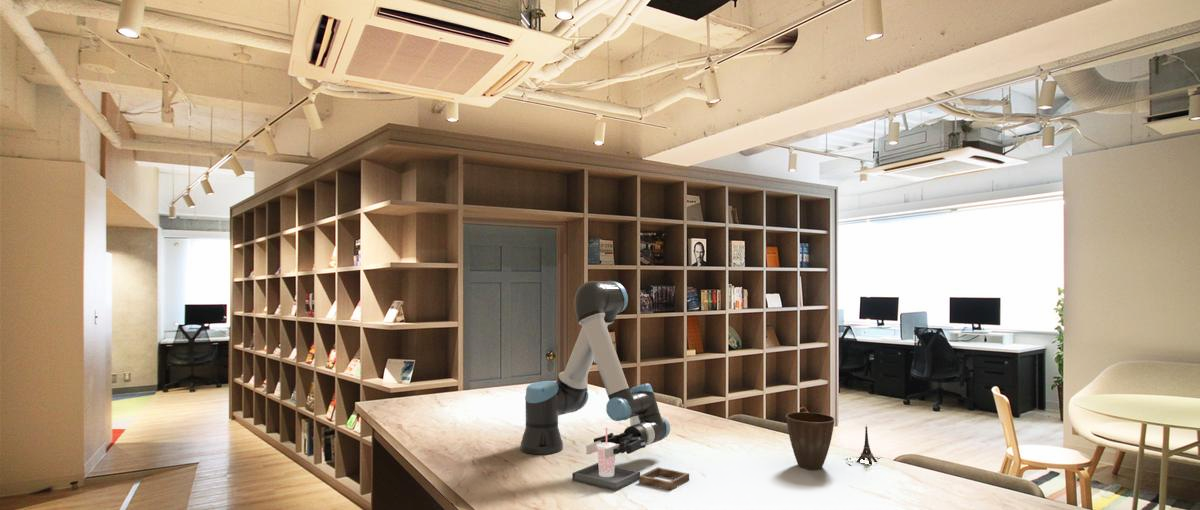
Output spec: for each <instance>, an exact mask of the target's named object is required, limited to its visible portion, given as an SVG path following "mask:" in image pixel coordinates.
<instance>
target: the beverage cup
mask: <svg viewBox="0 0 1200 510" xmlns="http://www.w3.org/2000/svg"><path fill="white" fill-rule="evenodd" d="M605 435H606V442H602V443H598V444H597V445H596V446H597V449H598V451H597V460H598V461H597V463H598V466H599V475H600V476H602V477H612V476H614V469H615V467H616V466H615V465H616V455H614V456H611V457H609V458H605V448H608V447H610V446H613V445H616V444H615V443H611V442H607V435H608V427H605Z"/></svg>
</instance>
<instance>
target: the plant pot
mask: <svg viewBox="0 0 1200 510" xmlns="http://www.w3.org/2000/svg"><path fill="white" fill-rule="evenodd" d="M785 418H786V423H787V424H786V425H787V431H788V435H789V436H788V437H789V441H790V444H791V448H792V451H793V455H794V458H795V461H796V463H797V465H798V467H799V468H802V469H806V470H811V471H812V470H813V471H814V470H815V471H816V470H821V469H822V468H823V466H824V463H825V461H826V459H827V456H828V453H829V450H830V446H831V441H832V438H833V437H832V436H833V431H834V427H835V426H834V424H835V418H834V416H831V415H828V414H824V413H818V412H809V411H807V412H806V411H803V412H802V411H798V412H797V411H795V412H789V413H787V414H785Z"/></svg>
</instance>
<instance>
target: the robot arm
mask: <svg viewBox="0 0 1200 510" xmlns="http://www.w3.org/2000/svg"><path fill="white" fill-rule="evenodd" d="M573 301H574V303H573V304H574V312H575V316H576V319H577V322H578V325H580V326H581V330H580V331H579V334H578V337H577V340H576V341H575V344H574V346H573V349H572V350H571V351H572V352H571V354H570V357H569V359H568V360H567V361H568V362H567V363H566V367H565V369H564V371H560V372H559V373H558V376H557V378H556V381H555V380H542V381H535V382H533V383H530V384H529V385H528V386H527V387H526V389H525V396H524V397H525V398H524V399H525V428H524V431H523V435H522V438H521V441H520V451H521V452H523V453H525V454H530V455H549V454H555V453H559V452H561V451H562V450H563V449H564V442H563V439H562V436H561V432H560V429H559V417H560V416H562V415H566V414H570V413H574V412H577V411H579V410H581V409H582V408H584V407H585V406H586V404H587V403H588V400H589V392H588V391H589V389H588V385H589V384H588V381H587V378H588V375H589V373H590V370H591V368H592V365H593V363H594V360H595V363H596V367H597V369H598V372H599V375H600V378H601V381H602V383H603V386H604V388H605V389H604V390H605V392H606V394H607V397H608V402H607V403H606V406H605V407H606V409H605V412H606V414H607V416H608V418H610V420H612V421H614V422H621V421H626V420H628V419H630V418H631V417H634V416H638V418H639V421H640V423H638V424H635V425H633V426H628V427H626V428H625V429H624V431H623V432H621V433H619V434H615V435H614V433H613V432H610V433H609V434H608V433H607V442H611V443H615V444H616V445H613V446H610V447H608V448H605V458H609V457H611V456H614V455H615V456H616V455H618V454H627V455H629V454H632V453H634V452H637V451H638V450H640V449H644V448H645V449H646V447H647V446H649V445H652V444H655V443H657V442H659V441H662V440H663V439H665V438H667V437H668V436H669V435H670V432H671V426H670V425H671V424H670V422H669V421H668V420H667V419H666V418H665V417H663V416H662V415H661V413H660V410H659V409H660V408H659V406H658V402H657V399H656V396H655V392H654V390H653V387H652V385H651V384H650V383H648V382H647V383H643V384H639V385H636V386H633V387H631V388H630V386H629V385H628V382H627V379H626V376H625V373H624V370H623V367H622V365H621V362H620V359H619V357H618V354H617V351H616V348H615V346H614V342H613V341H612V337H611V335H610V333H609V329H608V326H610V325H611V324H613V323H615V320H616V318H617V316H618V314H620V313H622V312H624V310H625V309H626V308H627V306H628V302H629V297H628V293H627V290H626V288H625V287H624V286H623V285H622V283H620V282H619V281H613V280H606V281H605V280H604V281H603V280H601V281H599V280H590V281H586V282H584V283H582V284H581V285H580V286H579V287H578V289H577V291H576V292H575V295H574V300H573ZM602 442H606V434H605V435H602V436H598V437H595V438H593V442H592V443H588V444H586V450H585V451H586V455H591V454H593V453H596V452H597V453H598V449H597V446H596V445H597V444H598V443H602Z"/></svg>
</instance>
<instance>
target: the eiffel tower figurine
mask: <svg viewBox="0 0 1200 510" xmlns="http://www.w3.org/2000/svg"><path fill="white" fill-rule="evenodd" d="M864 429H865V435H864V445H863V450H862V452H861V453H860V456H859V457H858V456H857V457H856V456H855V457H856V458H859V459H858V460H857V461H856V463H857V462H860V460H861V459H863V460H865V458H867V459H866V460H868V461H869V464H871V465H870V466H873V465H872V461H874V462H878V460H879V459H880V458H883V457H880V458H878V456H877V457H875V456H874V455H873V453H872V451H871V448H870V443H869V436H868V426H867V425H865V427H864ZM846 458H847V459H846ZM846 458H845V459H846V460H848V457H846ZM875 458H877V459H875ZM849 459H850V460H851V458H849ZM846 460H845V461H846Z"/></svg>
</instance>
